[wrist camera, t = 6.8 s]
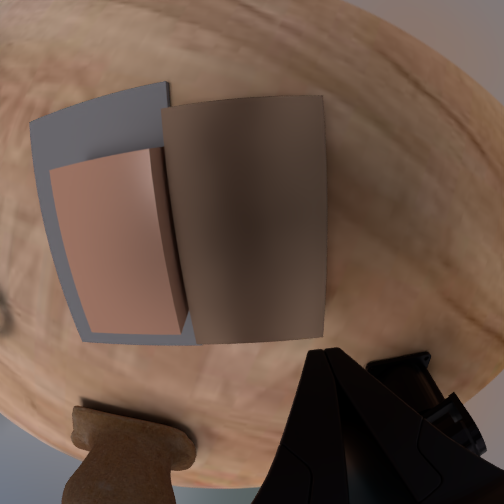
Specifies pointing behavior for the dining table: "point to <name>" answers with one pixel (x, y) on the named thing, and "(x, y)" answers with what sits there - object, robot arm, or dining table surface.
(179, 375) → the dining table surface
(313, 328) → the ledge
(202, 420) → the dining table surface
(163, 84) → the mat
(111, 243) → the salmon pink block
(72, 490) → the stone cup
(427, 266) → the dining table surface
